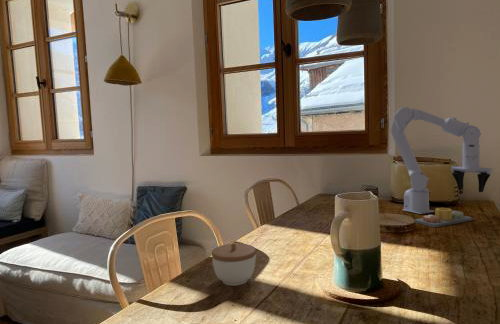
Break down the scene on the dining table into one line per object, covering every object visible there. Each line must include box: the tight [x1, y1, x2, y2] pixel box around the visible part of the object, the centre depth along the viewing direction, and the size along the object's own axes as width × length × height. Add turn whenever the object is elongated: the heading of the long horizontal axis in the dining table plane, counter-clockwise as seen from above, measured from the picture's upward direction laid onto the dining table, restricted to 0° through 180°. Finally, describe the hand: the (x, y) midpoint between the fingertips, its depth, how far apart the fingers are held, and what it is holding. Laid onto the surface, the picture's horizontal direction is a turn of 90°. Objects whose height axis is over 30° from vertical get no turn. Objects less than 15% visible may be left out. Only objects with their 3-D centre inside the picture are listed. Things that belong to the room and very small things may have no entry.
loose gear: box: [434, 207, 453, 220], centre depth 138 cm, size 6×6×4 cm
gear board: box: [413, 210, 474, 228], centre depth 138 cm, size 9×20×3 cm, turn 113°
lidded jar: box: [211, 242, 257, 287], centre depth 91 cm, size 11×11×9 cm
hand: (470, 190), depth 146 cm, fingers open, 7 cm apart
